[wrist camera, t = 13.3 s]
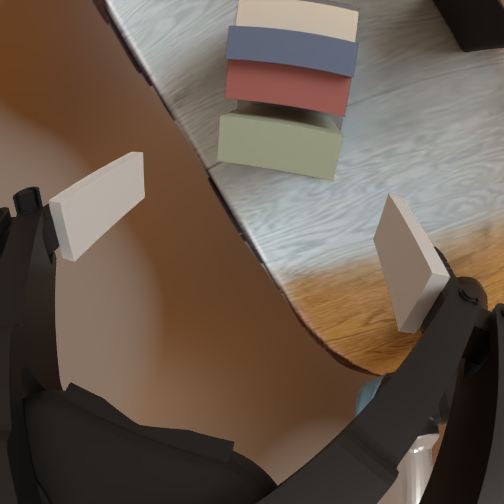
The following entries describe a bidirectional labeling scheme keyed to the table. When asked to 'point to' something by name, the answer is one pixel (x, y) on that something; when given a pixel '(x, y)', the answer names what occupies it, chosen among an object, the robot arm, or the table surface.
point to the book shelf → (293, 55)
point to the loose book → (280, 140)
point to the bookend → (475, 22)
